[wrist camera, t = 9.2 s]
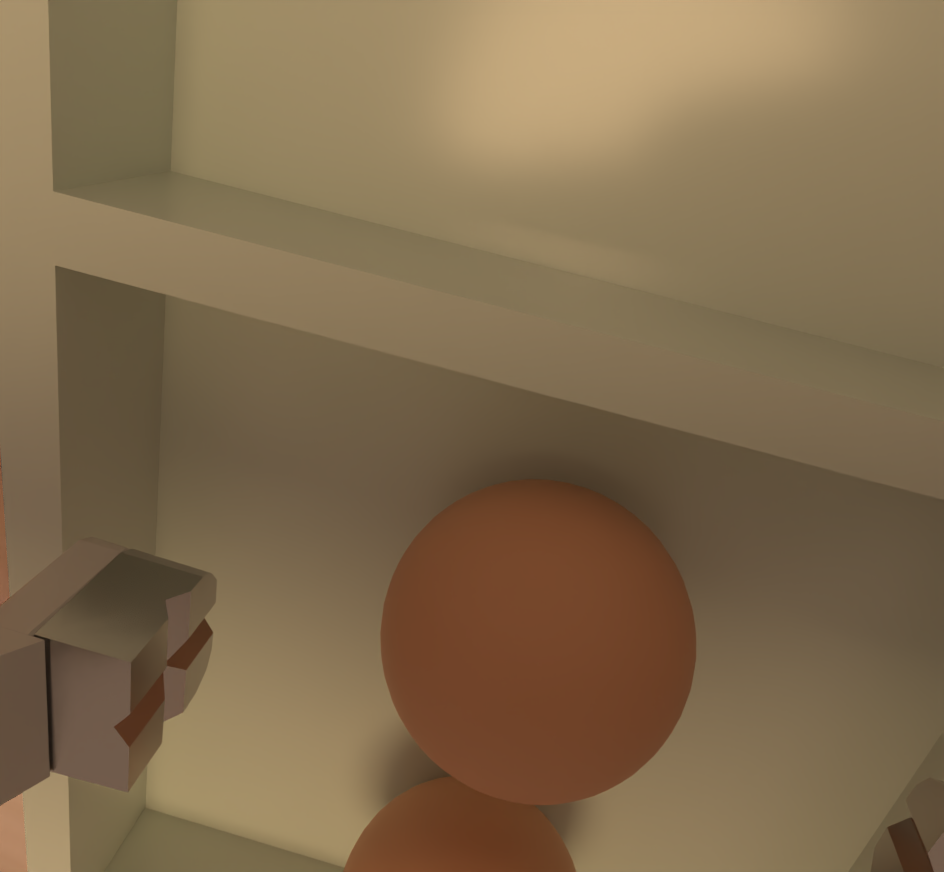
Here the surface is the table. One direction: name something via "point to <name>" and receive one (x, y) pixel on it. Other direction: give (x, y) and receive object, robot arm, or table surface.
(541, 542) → the terracotta ball
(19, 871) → the table surface
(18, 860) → the table surface
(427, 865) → the terracotta ball
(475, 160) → the twin dish
